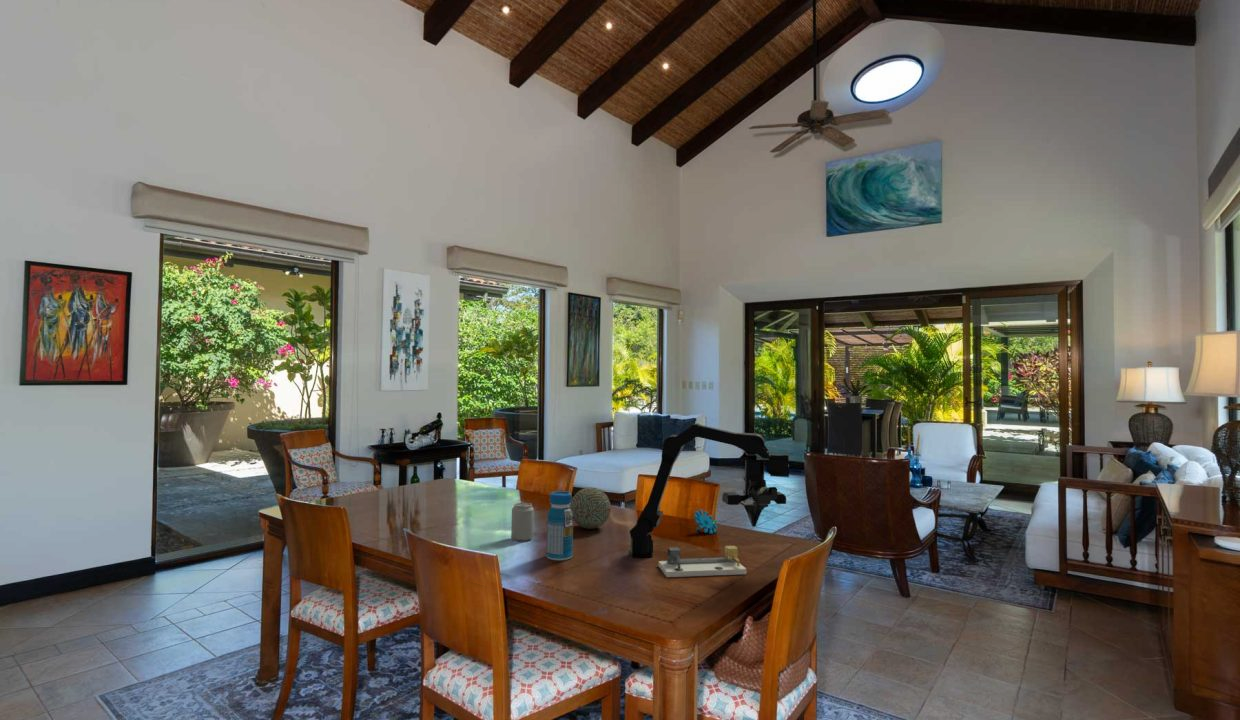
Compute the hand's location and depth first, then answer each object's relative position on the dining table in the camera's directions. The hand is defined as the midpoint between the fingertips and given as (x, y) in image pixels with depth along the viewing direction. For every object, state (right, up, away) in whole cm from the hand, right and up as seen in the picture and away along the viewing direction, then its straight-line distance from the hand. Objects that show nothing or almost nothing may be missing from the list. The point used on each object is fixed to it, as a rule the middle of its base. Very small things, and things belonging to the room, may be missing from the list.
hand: (753, 526), depth 194 cm
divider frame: (-16, -10, -5) cm, 19 cm away
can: (-75, -11, +24) cm, 79 cm away
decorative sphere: (-52, -11, +40) cm, 67 cm away
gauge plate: (-17, -12, -5) cm, 21 cm away
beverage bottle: (-60, -11, +4) cm, 61 cm away
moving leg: (-7, -10, -4) cm, 12 cm away
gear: (-9, -13, +39) cm, 42 cm away
